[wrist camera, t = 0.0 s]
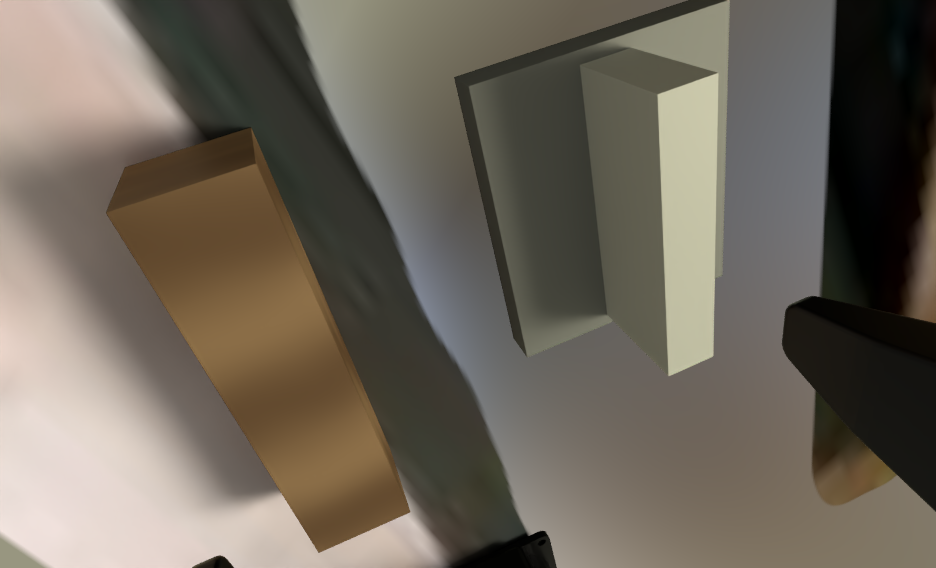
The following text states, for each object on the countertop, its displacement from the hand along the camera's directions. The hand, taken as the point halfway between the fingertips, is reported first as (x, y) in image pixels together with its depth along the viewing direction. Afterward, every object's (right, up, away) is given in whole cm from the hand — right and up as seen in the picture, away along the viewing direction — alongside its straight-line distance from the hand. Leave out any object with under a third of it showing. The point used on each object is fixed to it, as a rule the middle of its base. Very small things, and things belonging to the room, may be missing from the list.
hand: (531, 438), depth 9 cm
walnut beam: (-8, 0, +15) cm, 17 cm away
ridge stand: (+4, +6, +16) cm, 18 cm away
